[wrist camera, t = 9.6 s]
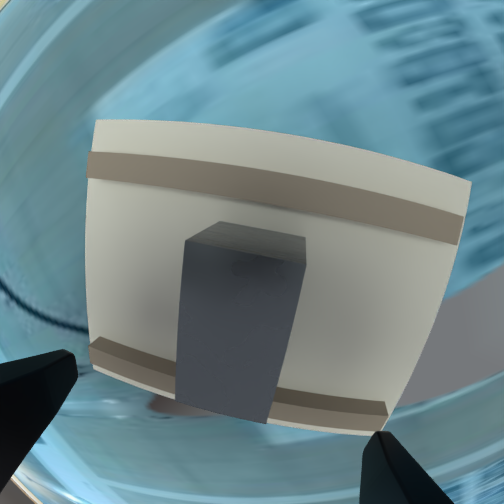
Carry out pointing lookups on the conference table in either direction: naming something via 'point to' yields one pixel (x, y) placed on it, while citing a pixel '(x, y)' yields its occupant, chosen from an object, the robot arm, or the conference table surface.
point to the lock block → (236, 317)
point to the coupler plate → (280, 220)
